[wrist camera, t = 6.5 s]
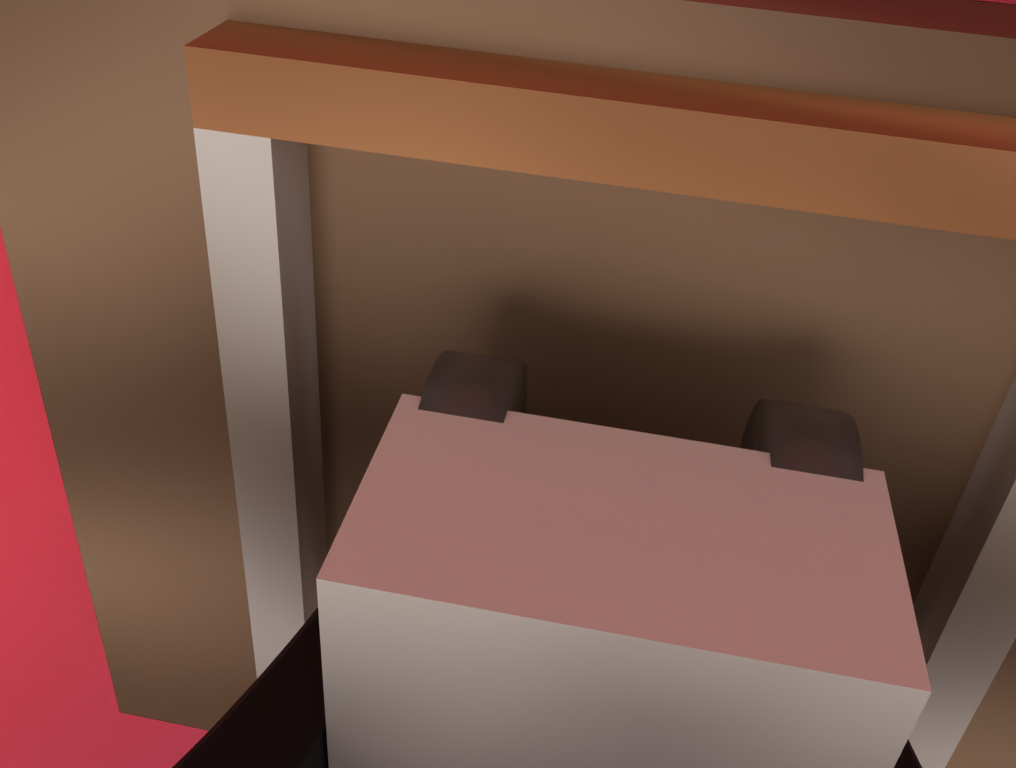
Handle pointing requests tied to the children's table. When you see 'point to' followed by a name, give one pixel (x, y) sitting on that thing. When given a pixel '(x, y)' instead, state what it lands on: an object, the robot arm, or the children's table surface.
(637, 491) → the beige box with tabs
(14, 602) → the children's table surface
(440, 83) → the dock
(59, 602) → the children's table surface
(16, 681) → the children's table surface
